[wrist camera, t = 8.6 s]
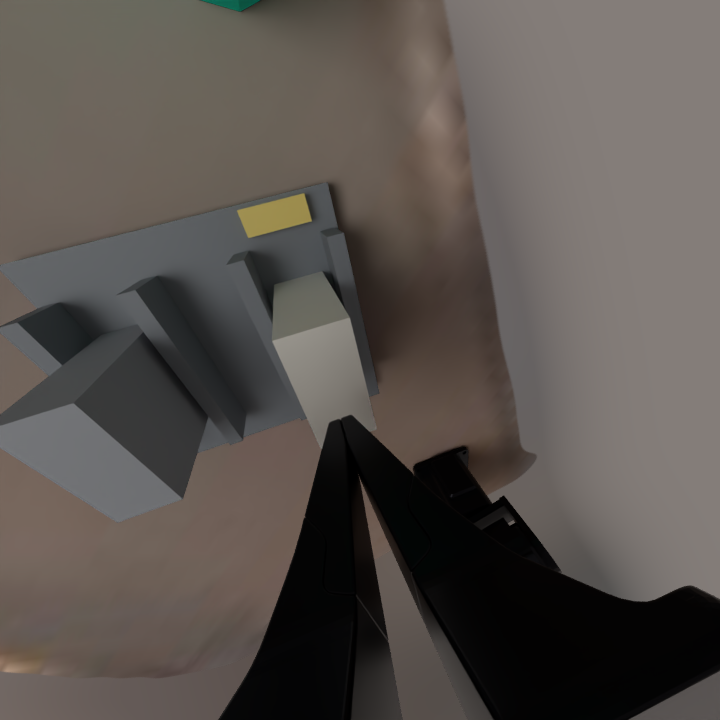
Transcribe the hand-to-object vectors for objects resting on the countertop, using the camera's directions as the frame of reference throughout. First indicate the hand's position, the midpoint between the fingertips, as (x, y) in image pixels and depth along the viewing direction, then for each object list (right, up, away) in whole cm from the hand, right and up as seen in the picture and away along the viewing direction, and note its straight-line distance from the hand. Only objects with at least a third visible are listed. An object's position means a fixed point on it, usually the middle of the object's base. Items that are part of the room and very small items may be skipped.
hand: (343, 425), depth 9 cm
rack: (-7, +4, +8) cm, 11 cm away
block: (-2, +5, +7) cm, 9 cm away
